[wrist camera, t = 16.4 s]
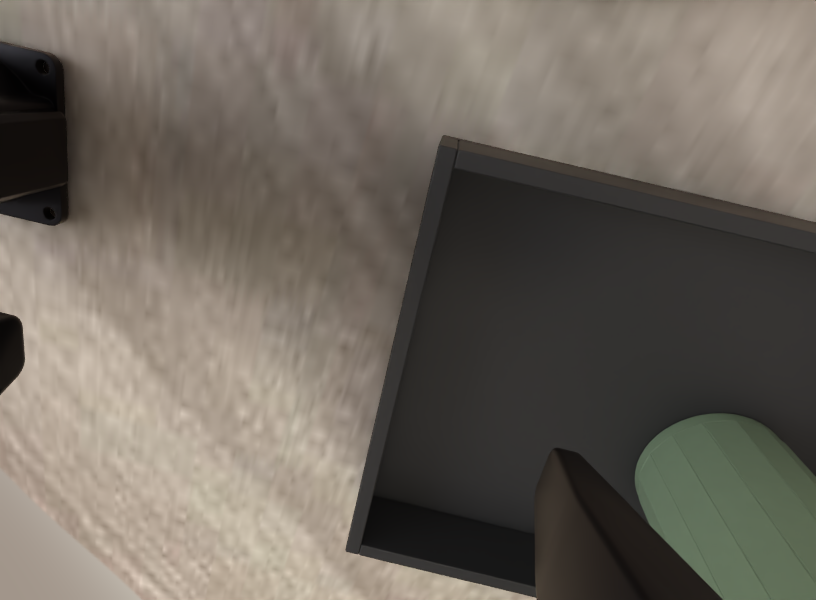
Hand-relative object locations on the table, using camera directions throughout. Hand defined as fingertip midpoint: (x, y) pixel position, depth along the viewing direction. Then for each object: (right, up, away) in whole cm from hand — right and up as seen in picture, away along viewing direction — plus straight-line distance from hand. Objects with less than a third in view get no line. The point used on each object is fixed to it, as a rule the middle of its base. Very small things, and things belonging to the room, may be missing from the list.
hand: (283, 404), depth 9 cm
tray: (+12, -2, +14) cm, 18 cm away
